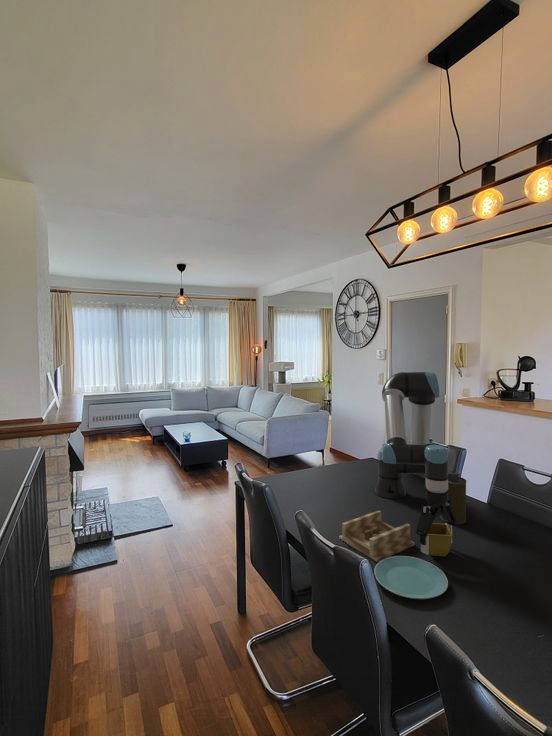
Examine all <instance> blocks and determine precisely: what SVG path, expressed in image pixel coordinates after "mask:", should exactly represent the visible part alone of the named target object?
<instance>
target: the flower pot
mask: <svg viewBox="0 0 552 736" xmlns="http://www.w3.org/2000/svg"><path fill="white" fill-rule="evenodd" d="M427 536H429V555H430V556H432V557H433V556H434V557H435V556H436V557H446V556H447V555H448V554H449V553H450V550H451V547H452V543H451V541H452V542H453V533H452V534H451V532H450V530H449V528H448V526H447V524H445V523H435V522H434V523H432V525H431V527H430V529H429V532H428V534H427Z"/></svg>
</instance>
